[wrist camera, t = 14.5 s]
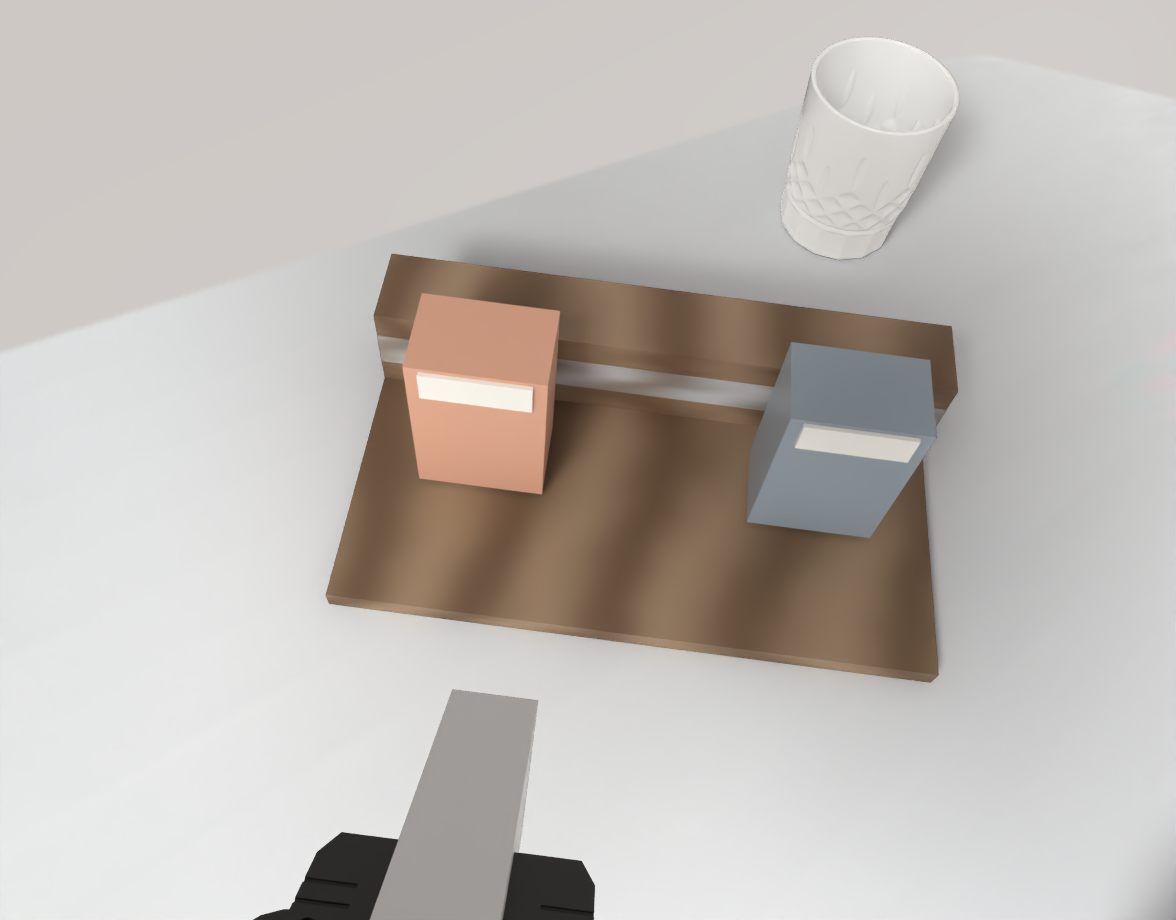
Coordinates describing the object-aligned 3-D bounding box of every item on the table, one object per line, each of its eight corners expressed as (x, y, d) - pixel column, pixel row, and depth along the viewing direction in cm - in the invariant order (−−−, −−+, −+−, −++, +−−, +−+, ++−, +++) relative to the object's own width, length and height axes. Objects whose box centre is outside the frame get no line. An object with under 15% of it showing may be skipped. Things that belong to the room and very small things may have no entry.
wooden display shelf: (329, 603, 47) (306, 545, 41) (402, 330, 55) (391, 253, 50) (930, 682, 46) (982, 633, 41) (910, 396, 55) (951, 326, 50)
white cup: (799, 158, 64) (843, 18, 56) (915, 206, 63) (978, 70, 54) (749, 234, 61) (788, 96, 52) (871, 288, 59) (932, 155, 50)
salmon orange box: (418, 482, 49) (401, 370, 41) (435, 410, 51) (421, 293, 43) (541, 498, 49) (547, 389, 41) (552, 426, 51) (560, 310, 43)
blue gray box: (746, 525, 49) (790, 422, 41) (749, 452, 51) (791, 342, 43) (869, 541, 49) (937, 441, 41) (866, 467, 51) (930, 360, 43)
